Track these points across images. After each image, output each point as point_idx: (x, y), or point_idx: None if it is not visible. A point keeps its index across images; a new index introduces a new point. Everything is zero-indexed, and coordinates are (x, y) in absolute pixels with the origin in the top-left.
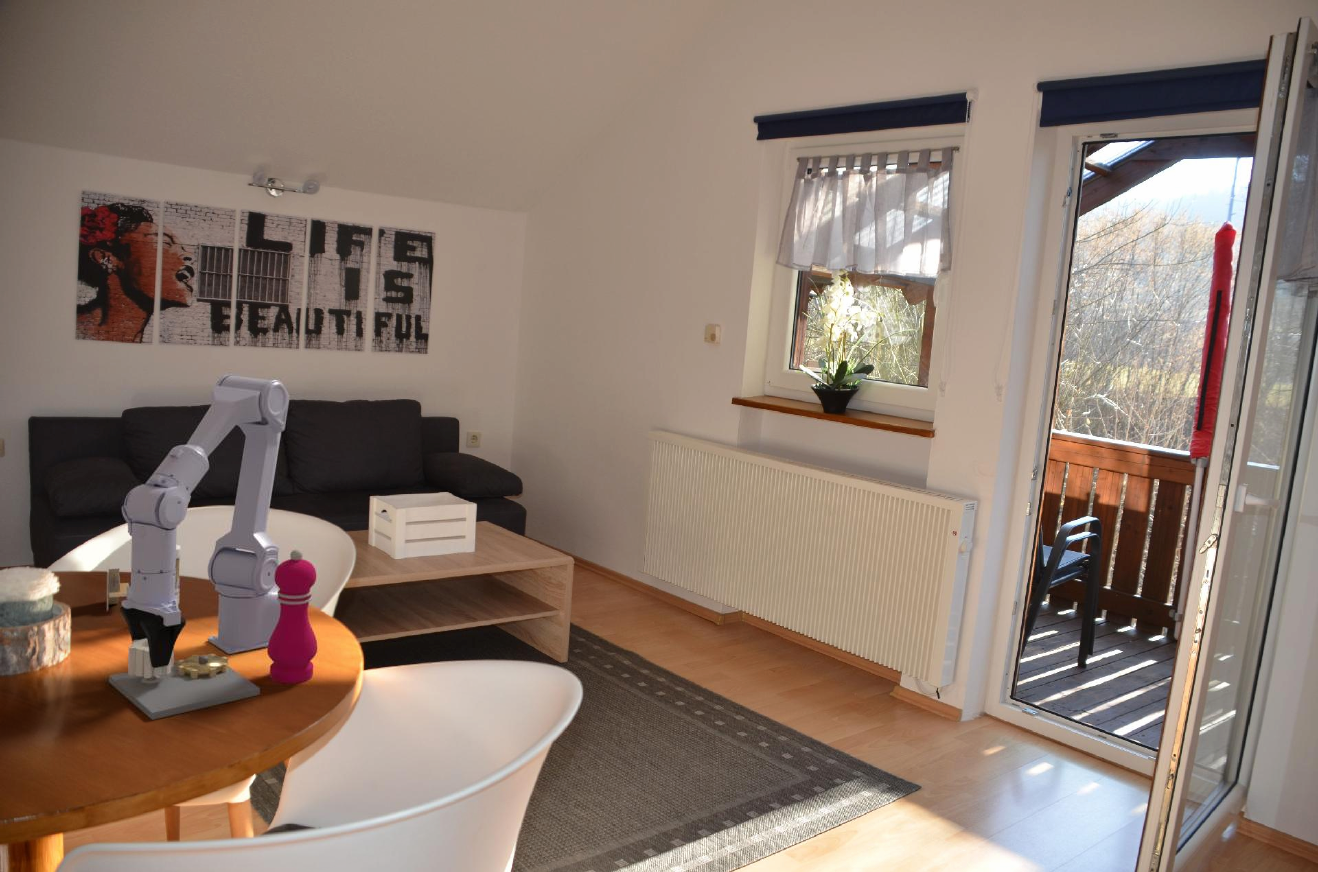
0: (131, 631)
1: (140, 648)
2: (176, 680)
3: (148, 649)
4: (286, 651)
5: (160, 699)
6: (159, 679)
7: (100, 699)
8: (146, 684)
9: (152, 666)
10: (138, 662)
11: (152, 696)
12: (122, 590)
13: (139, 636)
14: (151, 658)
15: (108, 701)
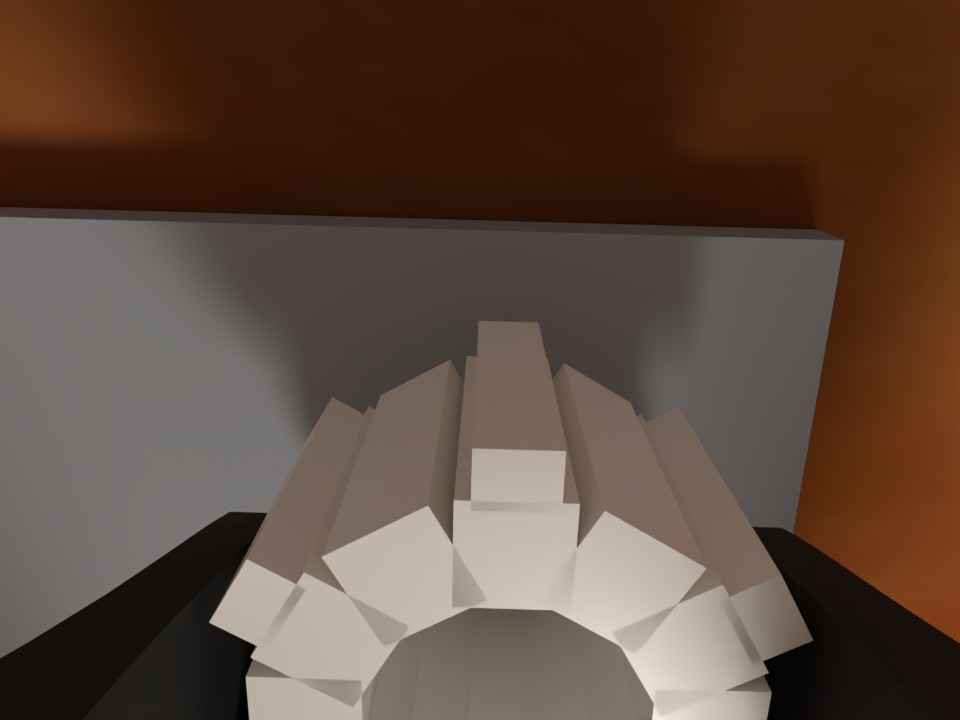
0: (939, 692)
1: (399, 554)
2: None
3: (297, 619)
4: None
5: (45, 373)
6: None
7: (479, 19)
8: None
9: (260, 513)
10: (409, 435)
11: (140, 347)
12: None
13: (834, 712)
14: (180, 553)
15: (394, 60)
